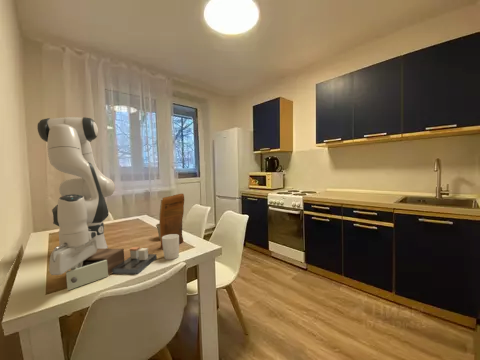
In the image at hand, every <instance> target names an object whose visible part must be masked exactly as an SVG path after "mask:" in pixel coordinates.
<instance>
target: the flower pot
mask: <svg viewBox="0 0 480 360" xmlns="http://www.w3.org/2000/svg"><path fill="white" fill-rule="evenodd" d="M155 227H156V229H157V233H158V238H159V240H160V224H159V223H157V224H155Z"/></svg>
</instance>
